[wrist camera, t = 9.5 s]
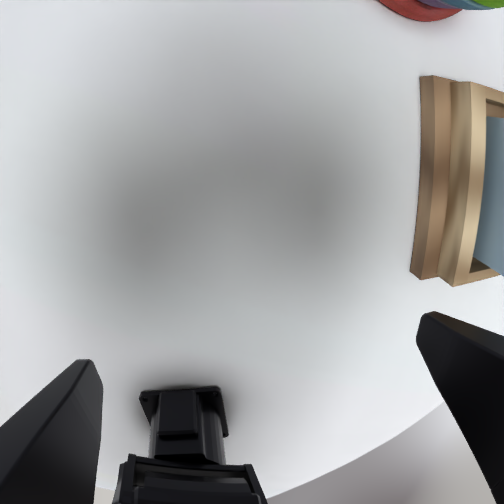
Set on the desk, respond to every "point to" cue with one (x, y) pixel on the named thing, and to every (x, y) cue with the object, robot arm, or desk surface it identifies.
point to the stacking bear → (438, 7)
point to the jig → (452, 178)
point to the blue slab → (492, 200)
